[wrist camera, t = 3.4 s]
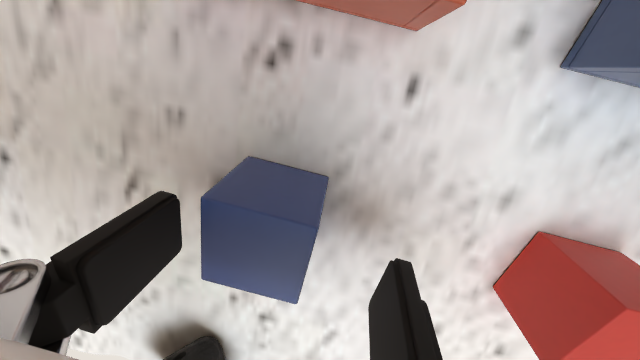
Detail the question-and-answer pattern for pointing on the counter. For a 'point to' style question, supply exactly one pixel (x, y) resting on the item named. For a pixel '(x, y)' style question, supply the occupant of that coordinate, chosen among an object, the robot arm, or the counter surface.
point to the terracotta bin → (394, 10)
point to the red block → (574, 300)
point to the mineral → (200, 350)
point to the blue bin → (610, 43)
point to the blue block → (261, 228)
